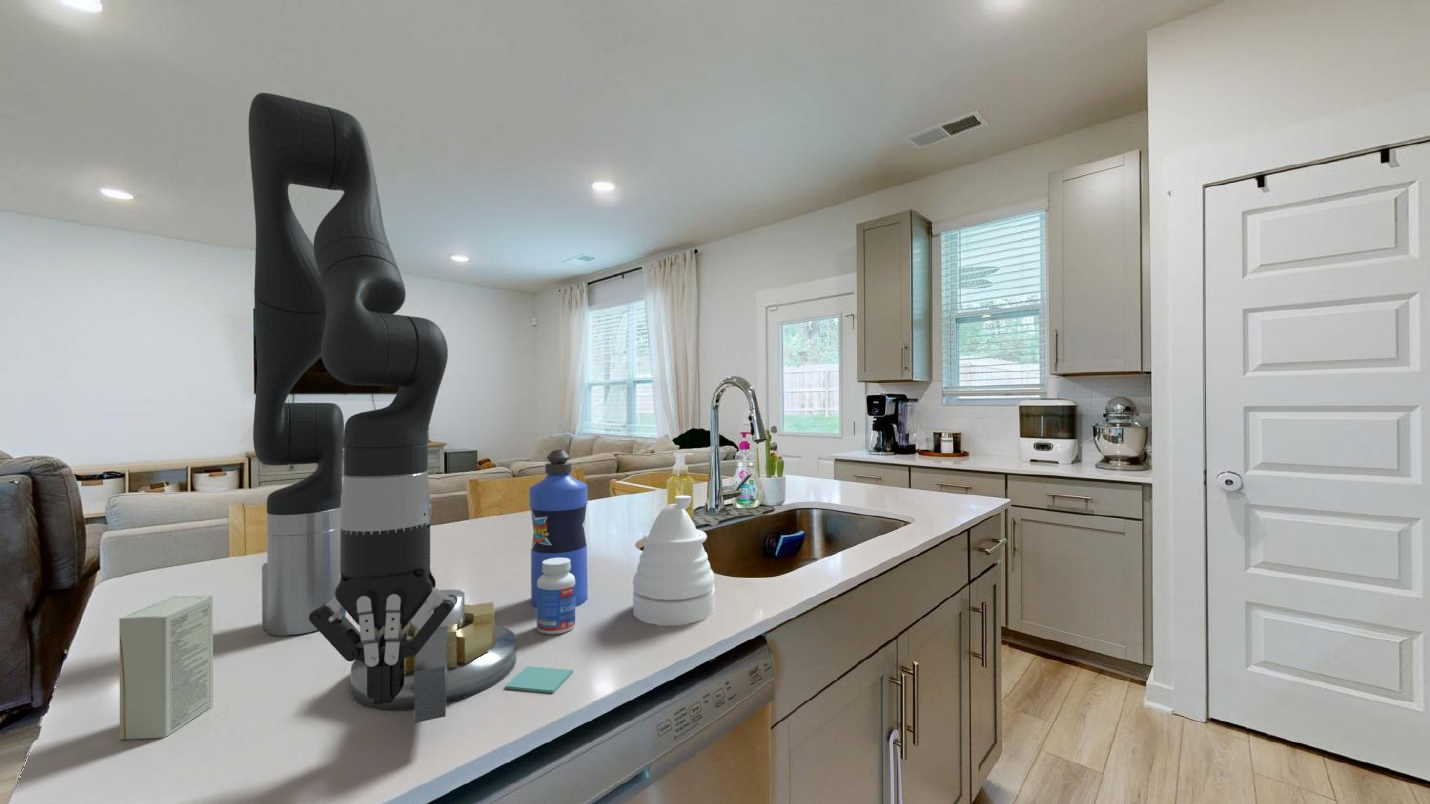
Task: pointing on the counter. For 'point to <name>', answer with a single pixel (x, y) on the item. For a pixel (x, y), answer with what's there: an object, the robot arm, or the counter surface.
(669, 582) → the honey pot
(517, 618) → the counter surface
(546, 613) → the pill bottle
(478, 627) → the clamp assembly
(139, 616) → the skincare box
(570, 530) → the blue bottle
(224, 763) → the counter surface
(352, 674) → the housing
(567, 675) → the pad
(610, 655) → the counter surface
